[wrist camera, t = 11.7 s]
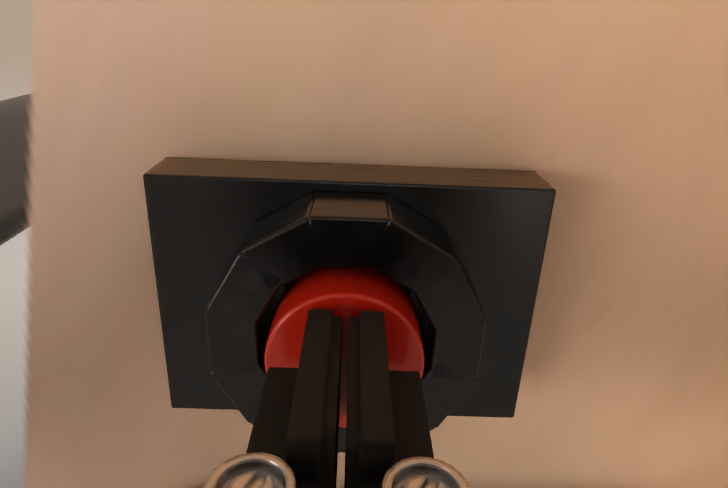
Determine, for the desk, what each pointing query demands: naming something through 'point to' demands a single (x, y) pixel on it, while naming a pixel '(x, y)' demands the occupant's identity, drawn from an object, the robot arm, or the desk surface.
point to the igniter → (351, 250)
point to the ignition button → (346, 319)
